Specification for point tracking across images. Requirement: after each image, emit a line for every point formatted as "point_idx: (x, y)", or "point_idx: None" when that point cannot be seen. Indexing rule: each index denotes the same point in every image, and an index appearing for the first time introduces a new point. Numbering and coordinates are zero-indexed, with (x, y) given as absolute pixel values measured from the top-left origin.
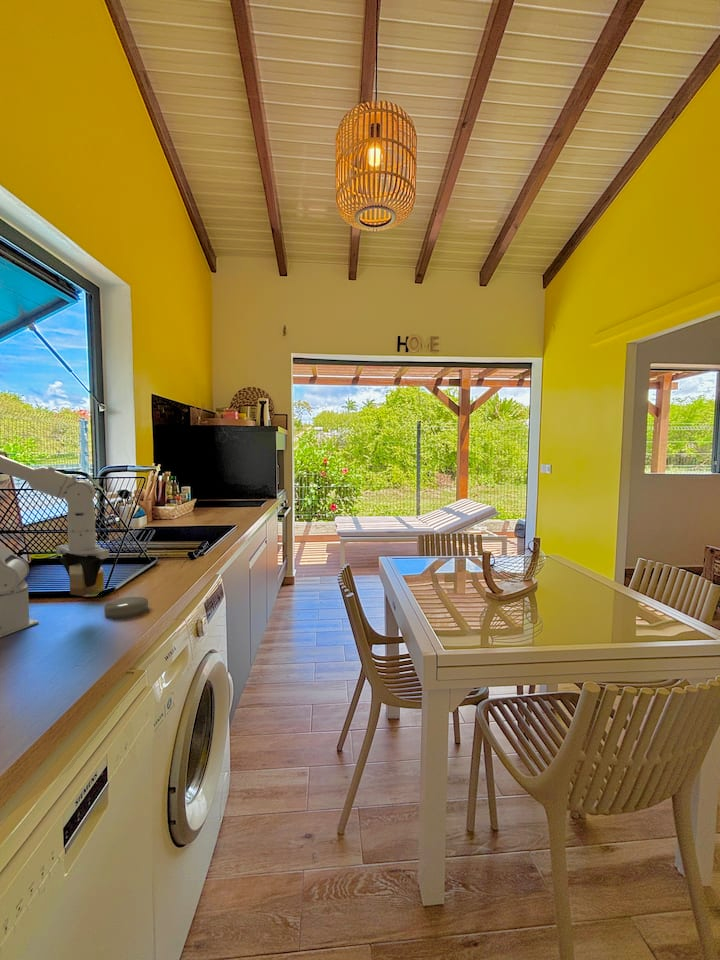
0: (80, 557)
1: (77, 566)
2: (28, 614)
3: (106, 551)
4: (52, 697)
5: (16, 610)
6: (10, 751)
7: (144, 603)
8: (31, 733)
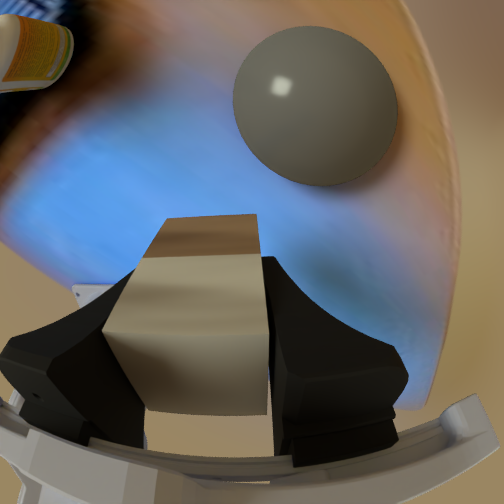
0: (92, 388)
1: (212, 411)
2: None
3: (481, 450)
4: (409, 386)
5: None
6: (415, 410)
7: (388, 89)
8: (418, 402)
